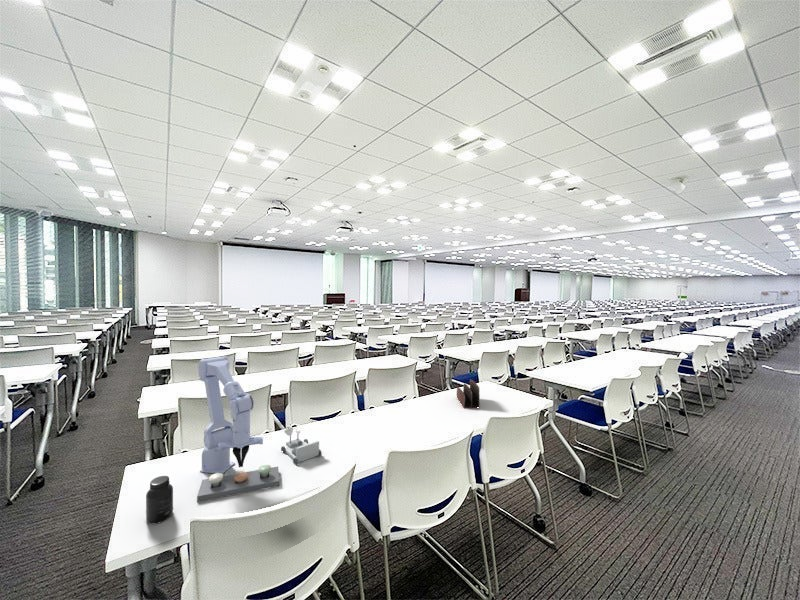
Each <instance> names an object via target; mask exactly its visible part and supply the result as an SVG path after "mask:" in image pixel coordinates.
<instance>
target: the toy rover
mask: <svg viewBox="0 0 800 600" xmlns="http://www.w3.org/2000/svg"><path fill="white" fill-rule="evenodd" d="M283 432H284V434H286V436H288V437H289V441H288V442H287V441H286V442H285V445H286V446H287V447H286V446H284V445H283V446H281V448H280V450H281V451H283V452H282V454H287V455H288V456H289V457H290V458H291V459H292V462H293V464H294V465H295V466H298V465H299V463H300V462H304V461H306V460H309V459H311V458H314V457H317V456H318V457H319V458H320V457H322V454H323V453H322V450H321V449H320V440H316V441H312V442H310V443H309V441H308V439H307V438H304V439H303V441H302V440H301V439H300V438H299V434H300V433H301V430H299V429H295V433H296V434H297V439H294V440H292V434H293V432H294V427H290V428H289V426H288V427H287V429H285V430H284V431H283Z"/></svg>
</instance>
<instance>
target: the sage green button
mask: <svg viewBox="0 0 800 600" xmlns="http://www.w3.org/2000/svg"><path fill="white" fill-rule="evenodd" d="M271 468H272V466H271V465H270V464H264V465H261V466H259V467H258V469H257V470H258V473H259V474H261V475H262V478H266V477H267V474H268V473H269V472H270V471H271Z"/></svg>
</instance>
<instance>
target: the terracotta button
mask: <svg viewBox="0 0 800 600" xmlns="http://www.w3.org/2000/svg"><path fill="white" fill-rule="evenodd" d="M246 472H247V471H240V472H238V473H235V474H236V475H235V476H234V481H235V482H238V483H242V482H244V481H245V480H246V479H247V478H248V474H247V473H246Z"/></svg>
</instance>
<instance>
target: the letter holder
mask: <svg viewBox="0 0 800 600" xmlns="http://www.w3.org/2000/svg"><path fill="white" fill-rule="evenodd" d="M462 389H463V390H462ZM462 389H461V388H460V387H459V386H457V387H456V396H457V398H458V399H457V398H456V399H457V400H459V401H460V402H459V401H458V402H459V403H461V404H462V405H461V404H460V405H461V407H463V409H464V408H477V407H479V408H480V404H481V403H480V400H481V399H480V397H481V396H480V395H481V394H480V386H479V385H478V384H477V382H476V381H474V380H473V379H472V378H471V379H469V385H468V384H466V383H463V387H462Z"/></svg>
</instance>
